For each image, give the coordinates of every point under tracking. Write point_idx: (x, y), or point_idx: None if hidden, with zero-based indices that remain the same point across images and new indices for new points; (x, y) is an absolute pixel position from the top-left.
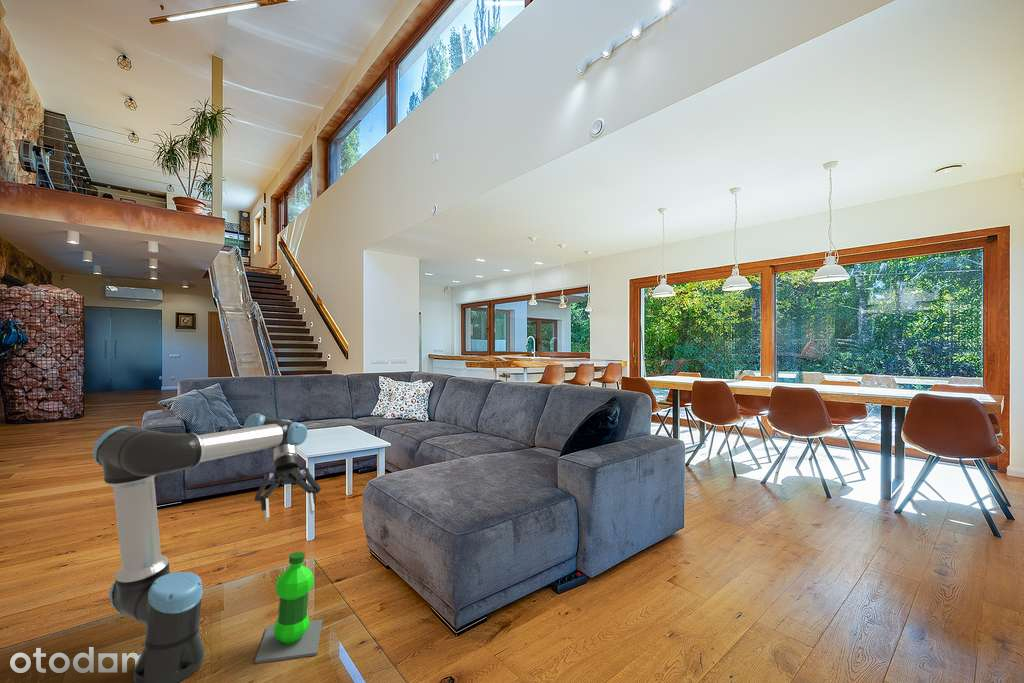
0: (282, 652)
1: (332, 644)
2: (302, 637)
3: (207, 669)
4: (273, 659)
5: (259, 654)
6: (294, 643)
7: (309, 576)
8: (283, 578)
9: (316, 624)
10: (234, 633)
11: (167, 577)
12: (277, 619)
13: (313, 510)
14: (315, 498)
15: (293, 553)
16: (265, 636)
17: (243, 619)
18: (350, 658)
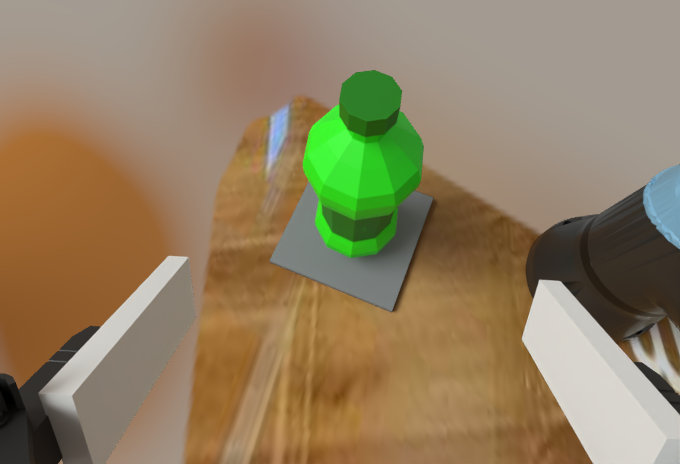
0: None
1: (283, 173)
2: None
3: (515, 233)
4: None
5: (423, 212)
6: None
7: (326, 115)
8: (410, 128)
9: (290, 247)
10: (464, 336)
11: None
12: (391, 220)
13: (177, 259)
14: (66, 353)
15: (381, 114)
16: (403, 267)
17: (440, 393)
18: (271, 118)
